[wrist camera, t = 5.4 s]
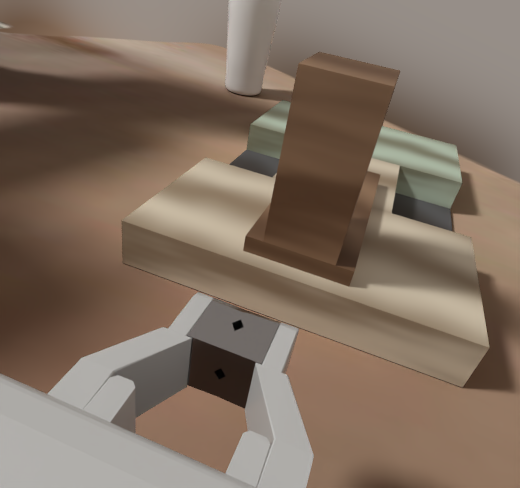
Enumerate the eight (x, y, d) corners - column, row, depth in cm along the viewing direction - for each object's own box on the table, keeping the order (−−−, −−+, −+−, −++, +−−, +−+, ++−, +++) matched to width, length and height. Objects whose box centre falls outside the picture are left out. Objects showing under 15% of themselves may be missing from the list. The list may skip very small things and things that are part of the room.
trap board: (462, 387, 22) (489, 347, 20) (122, 262, 25) (121, 220, 24) (444, 170, 48) (456, 145, 46) (278, 124, 51) (282, 100, 50)
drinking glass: (210, 85, 61) (221, -38, 53) (246, 83, 65) (262, -31, 57) (238, 99, 57) (255, -31, 49) (275, 97, 61) (296, -24, 53)
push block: (349, 286, 22) (419, 92, 17) (243, 250, 23) (276, 57, 18) (376, 186, 33) (424, 50, 28) (304, 165, 35) (336, 31, 29)
